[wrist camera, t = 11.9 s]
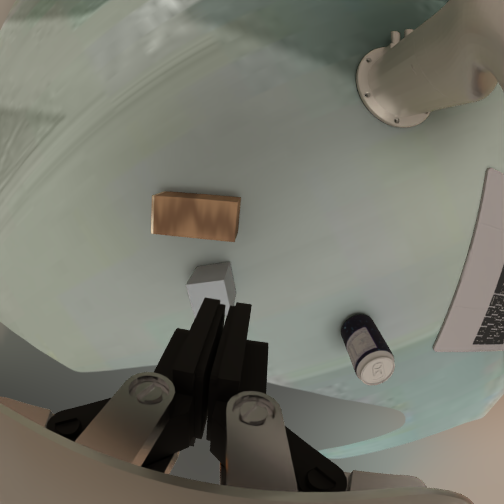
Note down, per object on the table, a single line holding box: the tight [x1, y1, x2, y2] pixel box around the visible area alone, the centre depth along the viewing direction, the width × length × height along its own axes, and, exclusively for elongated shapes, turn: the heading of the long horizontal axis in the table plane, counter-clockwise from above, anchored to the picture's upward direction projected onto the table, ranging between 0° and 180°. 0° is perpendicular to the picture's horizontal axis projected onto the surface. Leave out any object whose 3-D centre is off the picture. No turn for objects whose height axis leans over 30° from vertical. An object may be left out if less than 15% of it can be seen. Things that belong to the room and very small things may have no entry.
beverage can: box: [341, 314, 395, 385], centre depth 41 cm, size 6×6×12 cm
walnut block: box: [151, 191, 241, 242], centre depth 40 cm, size 5×5×11 cm
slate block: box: [186, 262, 236, 318], centre depth 42 cm, size 5×5×7 cm
